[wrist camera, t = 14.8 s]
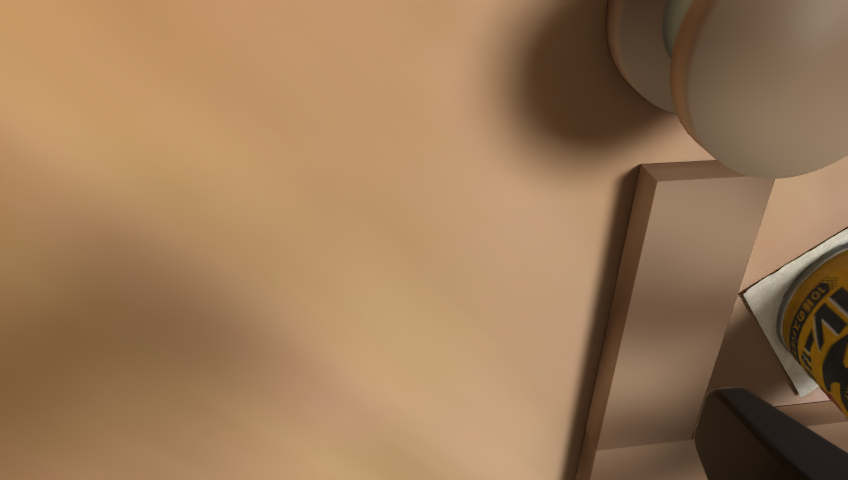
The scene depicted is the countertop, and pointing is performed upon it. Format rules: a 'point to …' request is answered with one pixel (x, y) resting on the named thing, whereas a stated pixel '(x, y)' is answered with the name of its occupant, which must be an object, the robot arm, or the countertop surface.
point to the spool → (743, 76)
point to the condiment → (809, 318)
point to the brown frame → (676, 322)
